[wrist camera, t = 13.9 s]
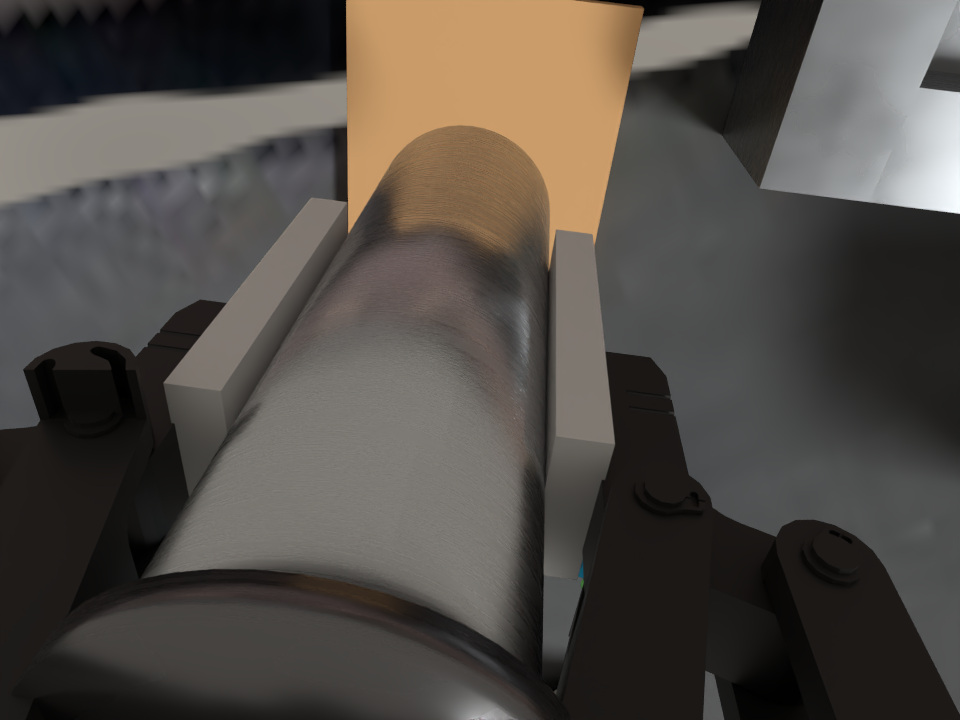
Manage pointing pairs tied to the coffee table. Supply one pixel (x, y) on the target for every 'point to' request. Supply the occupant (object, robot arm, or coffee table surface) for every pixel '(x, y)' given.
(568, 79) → the pad
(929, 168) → the grey piece
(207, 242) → the coffee table surface
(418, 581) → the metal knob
